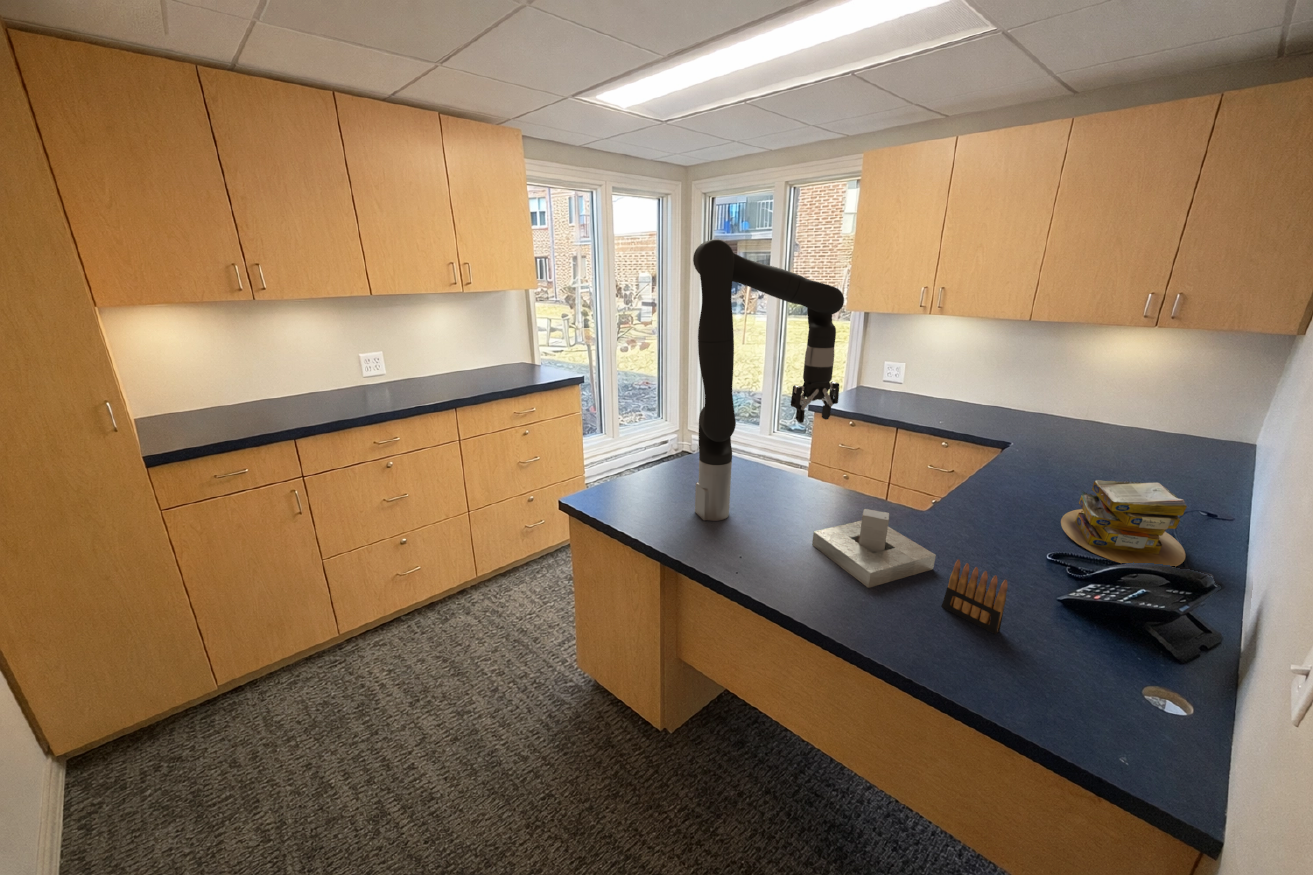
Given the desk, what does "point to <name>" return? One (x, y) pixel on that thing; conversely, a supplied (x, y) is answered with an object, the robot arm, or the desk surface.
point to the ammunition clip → (975, 598)
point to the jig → (866, 566)
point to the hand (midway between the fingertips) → (812, 420)
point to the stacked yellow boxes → (1128, 523)
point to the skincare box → (874, 530)
